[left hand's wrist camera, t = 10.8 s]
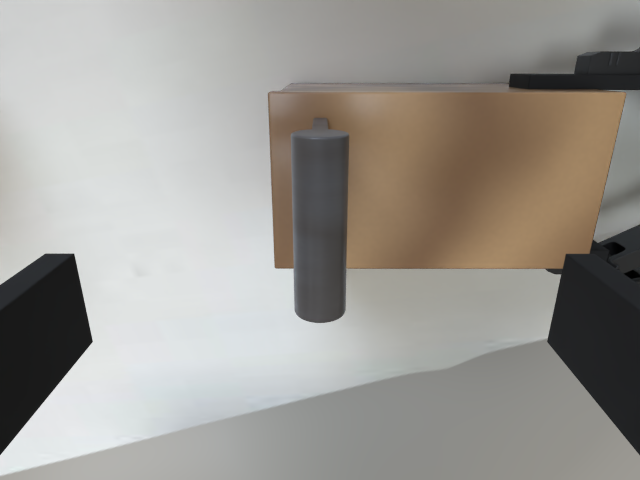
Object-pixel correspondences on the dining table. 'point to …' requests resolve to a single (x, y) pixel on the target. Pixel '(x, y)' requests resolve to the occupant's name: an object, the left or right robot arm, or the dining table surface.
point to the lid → (433, 182)
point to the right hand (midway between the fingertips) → (505, 170)
